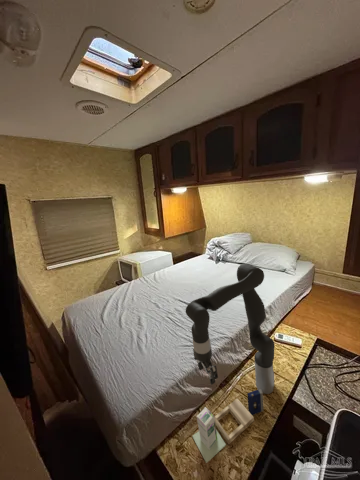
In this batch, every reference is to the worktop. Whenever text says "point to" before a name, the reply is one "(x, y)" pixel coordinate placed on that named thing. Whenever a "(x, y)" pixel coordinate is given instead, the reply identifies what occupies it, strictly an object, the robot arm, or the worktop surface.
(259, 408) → the cassette player
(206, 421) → the syrup box
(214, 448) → the sage mat
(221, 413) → the wooden frame
